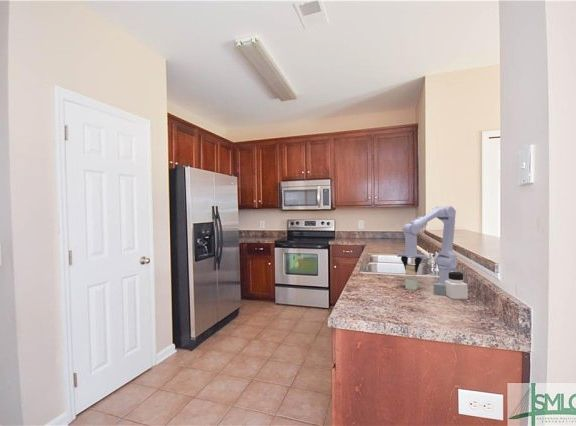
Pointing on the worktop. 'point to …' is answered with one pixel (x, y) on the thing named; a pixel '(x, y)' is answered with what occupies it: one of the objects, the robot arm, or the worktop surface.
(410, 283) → the sage block
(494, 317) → the worktop surface
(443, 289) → the slate block
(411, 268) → the maple block
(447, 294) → the medicine bottle
